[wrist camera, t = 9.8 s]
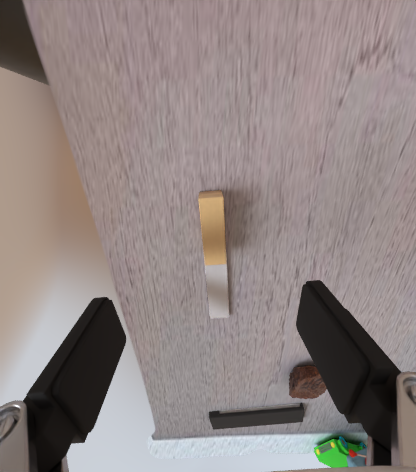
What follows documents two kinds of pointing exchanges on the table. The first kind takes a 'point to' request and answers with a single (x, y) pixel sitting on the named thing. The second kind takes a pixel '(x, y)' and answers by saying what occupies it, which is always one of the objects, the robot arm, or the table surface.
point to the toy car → (336, 452)
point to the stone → (306, 383)
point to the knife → (214, 252)
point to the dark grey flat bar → (257, 416)
